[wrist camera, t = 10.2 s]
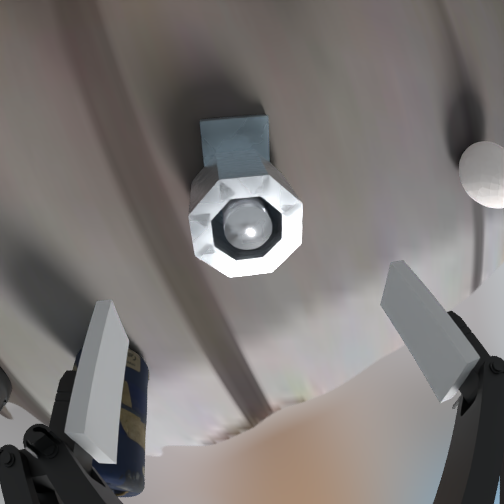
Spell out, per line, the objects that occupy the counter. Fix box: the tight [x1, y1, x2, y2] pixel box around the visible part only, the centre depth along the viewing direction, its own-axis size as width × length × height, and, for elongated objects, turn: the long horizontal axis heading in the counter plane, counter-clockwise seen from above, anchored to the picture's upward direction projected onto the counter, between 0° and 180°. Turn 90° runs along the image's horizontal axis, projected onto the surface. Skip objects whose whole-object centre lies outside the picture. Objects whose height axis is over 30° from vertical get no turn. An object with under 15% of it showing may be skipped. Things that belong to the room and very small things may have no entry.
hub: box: [188, 150, 303, 277], centre depth 23 cm, size 7×7×6 cm
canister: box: [72, 348, 149, 497], centre depth 28 cm, size 10×10×18 cm
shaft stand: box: [200, 114, 272, 250], centre depth 23 cm, size 5×12×7 cm, turn 2°
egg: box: [459, 141, 504, 208], centre depth 24 cm, size 6×6×8 cm
